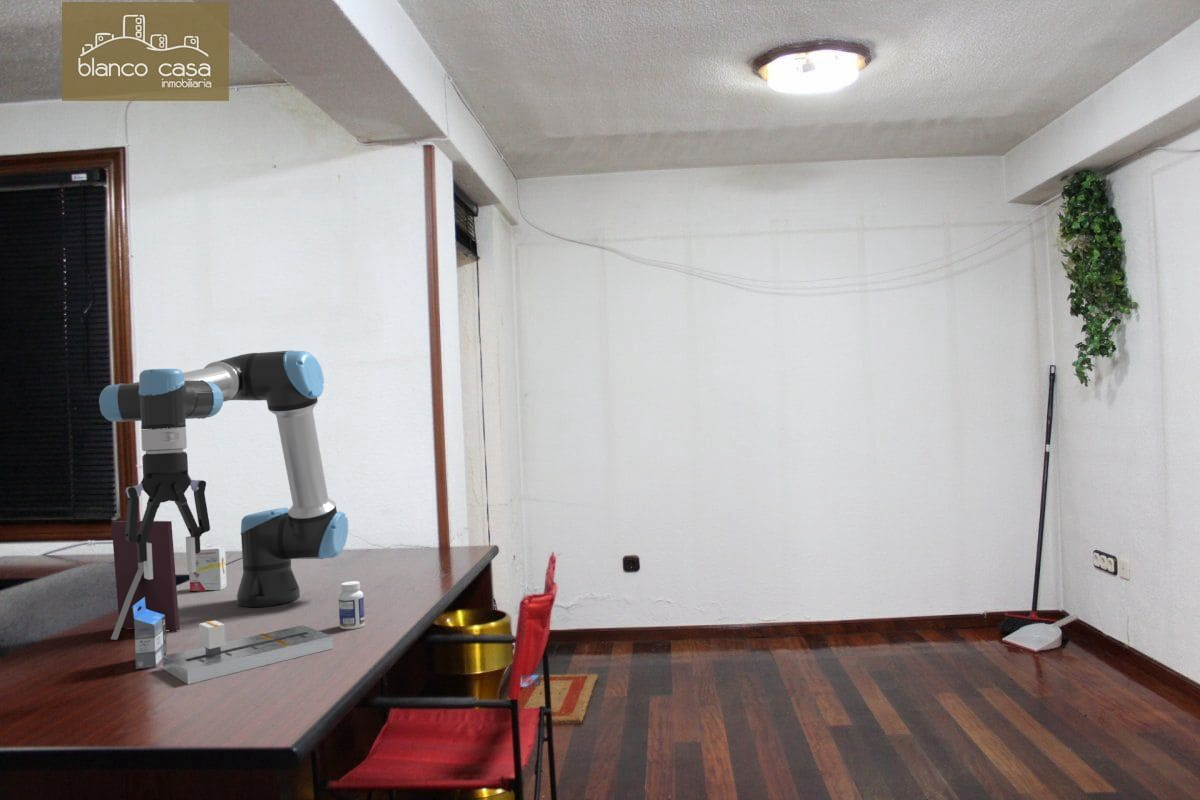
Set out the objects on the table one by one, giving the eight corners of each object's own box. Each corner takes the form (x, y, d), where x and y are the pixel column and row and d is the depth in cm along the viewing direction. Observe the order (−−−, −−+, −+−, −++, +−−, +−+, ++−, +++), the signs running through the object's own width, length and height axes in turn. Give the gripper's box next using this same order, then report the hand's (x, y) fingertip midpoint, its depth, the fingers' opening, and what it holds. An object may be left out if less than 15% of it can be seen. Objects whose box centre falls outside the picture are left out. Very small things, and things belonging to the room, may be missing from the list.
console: (163, 669, 166) (162, 655, 166) (302, 636, 186) (302, 624, 186) (187, 684, 156) (187, 669, 156) (333, 648, 176) (332, 635, 176)
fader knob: (201, 665, 167) (199, 622, 167) (217, 661, 169) (215, 619, 169) (210, 670, 163) (208, 627, 163) (226, 666, 165) (224, 623, 165)
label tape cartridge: (157, 667, 168) (154, 604, 168) (134, 670, 167) (131, 606, 167) (167, 655, 176) (164, 594, 176) (146, 657, 175) (143, 596, 175)
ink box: (189, 592, 238) (187, 549, 238) (195, 588, 243) (193, 546, 243) (221, 590, 239) (219, 547, 239) (227, 586, 243) (225, 544, 243)
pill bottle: (357, 622, 196) (355, 579, 196) (369, 625, 192) (367, 582, 192) (335, 627, 193) (333, 583, 193) (347, 631, 189) (345, 586, 189)
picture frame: (179, 630, 196) (174, 520, 196) (144, 642, 186) (138, 527, 186) (123, 627, 201) (118, 520, 201) (86, 639, 192) (81, 526, 192)
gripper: (111, 456, 152) (117, 587, 152) (226, 448, 165) (232, 568, 165) (99, 455, 157) (105, 581, 157) (212, 447, 171) (217, 563, 171)
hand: (170, 574), depth 161 cm, fingers open, 7 cm apart
